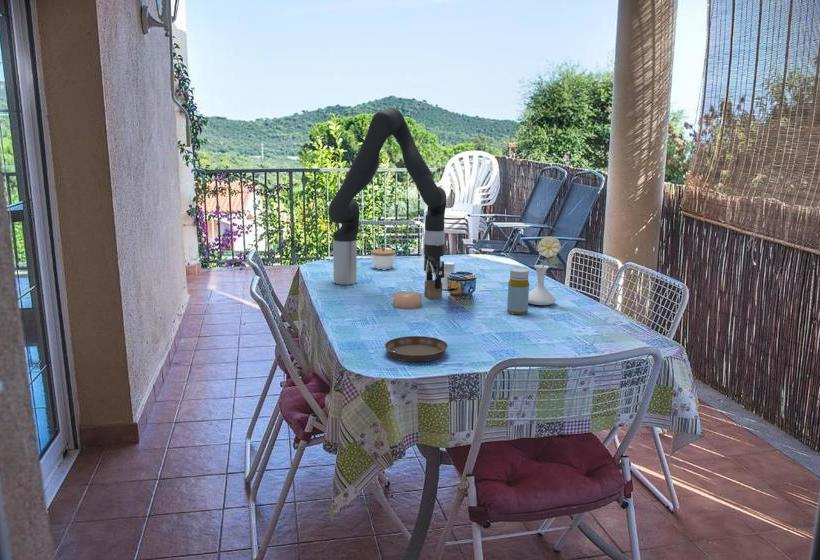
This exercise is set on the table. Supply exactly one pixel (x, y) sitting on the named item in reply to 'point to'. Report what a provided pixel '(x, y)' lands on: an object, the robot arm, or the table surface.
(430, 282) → the walnut block
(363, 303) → the table surface
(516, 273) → the bottle
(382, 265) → the lidded jar
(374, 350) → the table surface
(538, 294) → the flower in vase
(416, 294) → the terracotta puck
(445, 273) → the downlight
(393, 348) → the plant saucer
